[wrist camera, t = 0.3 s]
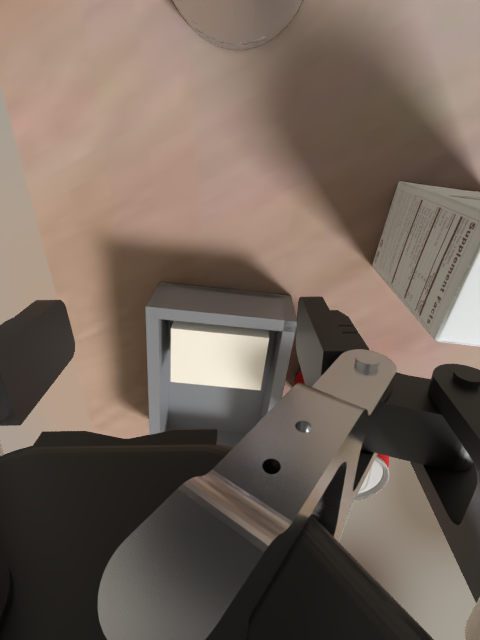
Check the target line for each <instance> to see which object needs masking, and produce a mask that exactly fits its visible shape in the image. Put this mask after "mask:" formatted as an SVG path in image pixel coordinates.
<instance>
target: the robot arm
mask: <svg viewBox="0 0 480 640" xmlns="http://www.w3.org/2000/svg"><path fill="white" fill-rule="evenodd" d="M172 1H173V2H174V4H175V6H176V7H177V9H178V11H179V12H180V14H181V15H182V16H183V18H184V19H185V20H186V22H187V23H188V24H189V26H190V27H191V28H192V29H193V30H194V31H195V32H196V33H198V34H199V35H200V36H201V37H202V38H203V39H205V40H207V41H209V42H210V43H212V44H214V45H216V46H218V47H222V48H226V49H230V50H247V49H250V48H254V47H257V46H261V45H262V44H264V43H266V42H268V41H269V40H271V39H273V38H274V37H275V36H277V35H278V34H279V33H280V32H281V31H282V30H283V29H284V28H285V27H286V26H287V25H288V24H289V22H290V21H291V20H292V18H293V17H294V15H295V14H296V13H297V11H298V9H299V7H300V5H301V3H302V1H303V0H172ZM74 352H75V341H74V337H73V333H72V329H71V325H70V321H69V318H68V314H67V310H66V307H65V304H64V303H63V302H62V301H61V300H36V301H35V302H33V303H32V304H31V305H29V306H28V307H27V308H26V309H24V310H23V311H22V312H20V313H19V314H18V315H16V316H15V317H14V318H12V319H10V320H8V321H5V322H4V323H3V324H2V325H0V425H2V426H3V425H21V424H22V423H23V421H24V420H25V419H26V417H27V416H28V415H29V414H30V412H31V411H32V410H33V408H34V407H35V406H36V404H37V403H38V402H39V401H40V399H41V398H42V397H43V395H44V394H45V393H46V392H47V390H48V389H49V388H50V386H51V385H52V384H53V383H54V381H55V380H56V379H57V377H58V376H59V375H60V373H61V372H62V371H63V369H64V368H65V367H66V366H67V364H68V363H69V362H70V360H71V359H72V358H73V355H74ZM296 353H297V357H298V361H299V364H300V368H301V372H302V375H303V379H304V382H305V384H303V383H297V384H296V385H295V386H293V387H292V388H291V390H290V391H289V392H288V393H287V394H286V395H285V396H284V397H283V398H282V399H281V400H280V401H279V402H278V403H277V404H276V405H275V406H274V407H273V408H272V409H271V410H270V411H269V412H268V413H267V414H266V415H265V416H264V417H263V418H262V419H261V420H260V421H259V422H258V423H257V424H256V425H255V426H254V427H253V428H252V429H251V430H250V431H249V432H248V433H247V434H246V435H245V436H244V437H243V438H242V439H241V441H240V442H239V443H238V444H237V445H236V446H235V447H232V446H229V445H225V444H222V443H218V433H217V429H199V430H171V431H166V432H161V433H156V434H151V435H146V436H141V437H136V438H131V439H122V438H117V437H112V436H107V435H102V434H97V433H92V432H87V431H60V432H42V433H41V435H40V436H39V438H38V439H37V441H36V442H35V443H34V445H33V446H30V447H27V448H23V449H19V450H16V451H13V452H10V453H7V454H5V455H3V450H2V446H1V441H0V640H433V639H432V637H431V636H430V635H429V634H428V633H427V632H426V631H425V630H424V629H423V628H422V627H421V626H420V625H419V624H418V623H417V622H416V621H415V620H414V619H413V618H412V617H411V616H410V615H409V614H408V613H407V612H406V611H405V610H404V609H403V608H402V607H401V605H400V604H399V603H398V602H397V601H396V600H395V599H394V598H393V597H392V596H391V595H390V594H389V593H388V592H387V591H386V590H385V589H384V588H383V587H382V586H381V585H380V584H379V583H378V582H377V581H376V580H375V579H374V578H373V577H372V576H371V575H370V574H369V573H368V572H367V571H366V570H365V569H364V568H363V567H362V566H361V565H360V564H359V563H358V562H357V560H356V559H355V558H354V557H353V556H351V554H350V553H348V551H347V550H346V549H345V548H344V547H343V546H342V545H341V544H340V543H339V540H340V537H341V535H342V532H343V530H344V527H345V524H346V521H347V518H348V515H349V512H350V509H351V507H352V504H353V502H354V500H355V498H356V496H357V494H358V492H359V490H360V488H361V486H362V484H363V482H364V480H365V478H366V476H367V474H368V472H369V470H370V468H371V466H372V464H373V462H374V460H375V458H376V456H377V454H382V455H386V456H391V457H395V458H399V459H403V460H407V461H410V462H411V465H412V467H413V469H414V471H415V473H416V475H417V478H418V480H419V482H420V484H421V486H422V488H423V490H424V492H425V495H426V496H427V499H428V501H429V503H430V505H431V507H432V510H433V512H434V514H435V516H436V518H437V520H438V522H439V525H440V527H441V529H442V531H443V533H444V535H445V537H446V539H447V542H448V544H449V546H450V548H451V550H452V552H453V554H454V557H455V558H456V561H457V563H458V565H459V567H460V569H461V572H462V573H463V576H464V578H465V580H466V582H467V584H468V586H469V589H470V591H471V593H472V595H473V597H474V599H475V601H476V605H475V606H474V608H473V610H472V612H471V614H470V616H469V617H468V620H467V623H466V627H465V638H466V640H480V370H478V369H475V368H472V367H469V366H465V365H459V364H444V365H440V366H438V367H436V368H435V369H434V371H433V374H432V378H431V379H426V378H420V377H414V376H408V375H404V374H400V373H397V372H396V365H395V364H394V362H393V361H392V360H391V359H389V358H388V357H386V356H385V355H382V354H380V353H378V352H374V351H370V350H369V348H368V347H367V345H366V344H365V342H364V340H363V339H362V337H361V336H360V334H359V333H358V331H357V330H356V328H355V327H354V325H353V323H352V322H351V320H350V319H349V317H348V316H346V315H344V314H343V313H341V312H340V311H338V310H329V308H328V306H327V304H326V303H325V301H324V299H323V297H300V298H299V302H298V314H297V329H296Z"/></svg>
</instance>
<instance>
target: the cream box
mask: <svg viewBox="0 0 480 640" xmlns="http://www.w3.org/2000/svg"><path fill="white" fill-rule="evenodd" d="M268 342H269V331H268V330H264V329H254V328H244V327H234V326H224V325H214V324H204V323H194V322H184V321H174V322H173V324H172V327H171V382H177V383H187V384H198V385H208V386H219V387H229V388H240V389H250V390H261V385H262V379H263V372H264V366H265V360H266V354H267V348H268Z"/></svg>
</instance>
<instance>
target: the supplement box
mask: <svg viewBox="0 0 480 640" xmlns="http://www.w3.org/2000/svg"><path fill="white" fill-rule="evenodd" d="M372 267H373V268H374V269H375V270H376V272H377V273H378V274H379V275H380V276H381V277H382V279H383V280H384V281H385V282H386V283H387V284H388V286H389V287H390V288H391V289H392V290H393V292H394V293H395V294H396V295H397V296H398V297H399V299H400V300H401V301H402V302H403V303H404V304H405V306H406V307H407V308H408V309H409V310H410V311H411V313H412V314H413V315H414V316H415V317H416V318H417V320H418V321H419V322H420V323H421V324H422V326H423V327H424V328H425V329H426V330H427V331H428V333H429V334H430V335H431V336H432V337H433V339H434V340H436V341H438V342H445V343H454V344H463V345H472V346H480V192H478V191H467V190H459V189H452V188H445V187H437V186H429V185H422V184H416V183H409V182H404V181H399V182H398V186H397V189H396V192H395V194H394V198H393V201H392V204H391V207H390V210H389V214H388V217H387V220H386V223H385V226H384V229H383V232H382V236H381V239H380V242H379V245H378V248H377V251H376V255H375V258H374V261H373V265H372Z"/></svg>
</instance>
